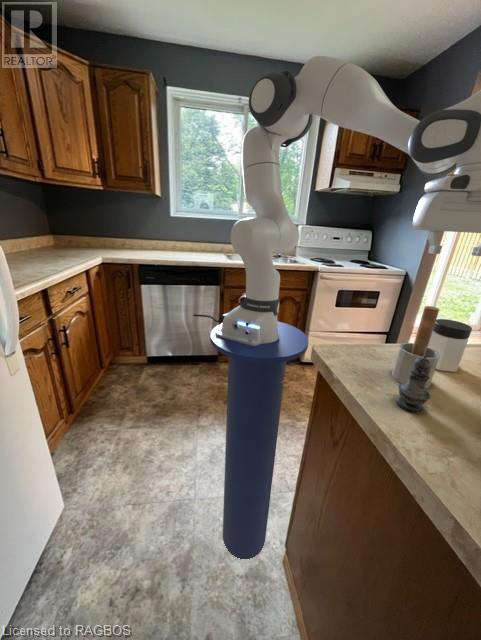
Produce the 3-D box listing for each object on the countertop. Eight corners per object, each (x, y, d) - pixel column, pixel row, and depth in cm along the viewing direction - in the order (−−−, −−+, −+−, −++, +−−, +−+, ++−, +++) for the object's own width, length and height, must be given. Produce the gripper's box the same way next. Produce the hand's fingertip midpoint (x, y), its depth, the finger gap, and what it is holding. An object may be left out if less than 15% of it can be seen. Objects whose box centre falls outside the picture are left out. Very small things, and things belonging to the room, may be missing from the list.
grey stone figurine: (388, 401, 58) (402, 351, 54) (403, 393, 61) (417, 345, 57) (416, 418, 53) (434, 364, 49) (431, 408, 56) (449, 357, 52)
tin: (395, 384, 65) (404, 354, 62) (389, 368, 72) (396, 340, 69) (434, 391, 62) (445, 361, 60) (423, 374, 70) (432, 346, 67)
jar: (448, 359, 79) (461, 320, 74) (465, 373, 71) (481, 331, 67) (415, 355, 80) (426, 317, 76) (429, 369, 72) (442, 327, 68)
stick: (406, 378, 66) (426, 308, 60) (403, 373, 69) (423, 305, 62) (419, 381, 65) (441, 310, 59) (415, 375, 68) (437, 306, 62)
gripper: (515, 188, 57) (491, 255, 61) (418, 183, 57) (401, 250, 61) (547, 184, 51) (517, 259, 55) (438, 178, 51) (417, 254, 55)
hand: (455, 254), depth 58 cm, fingers open, 8 cm apart
